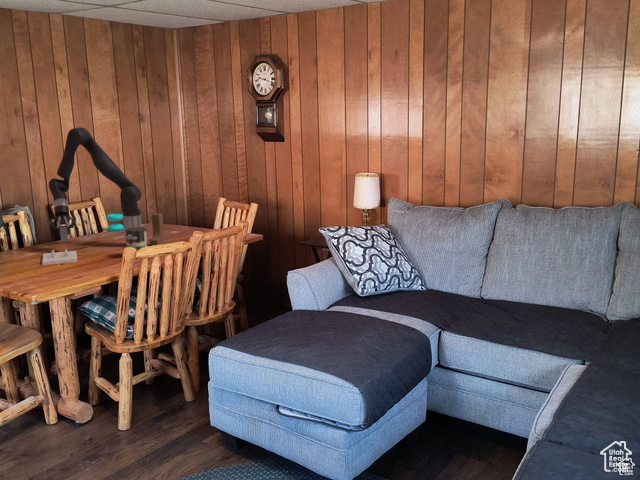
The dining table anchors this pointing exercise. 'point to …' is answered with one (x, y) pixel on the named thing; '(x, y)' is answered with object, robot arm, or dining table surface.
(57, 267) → the dining table surface
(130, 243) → the coffee can
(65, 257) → the grey peg board
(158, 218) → the wooden block
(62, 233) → the block
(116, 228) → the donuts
